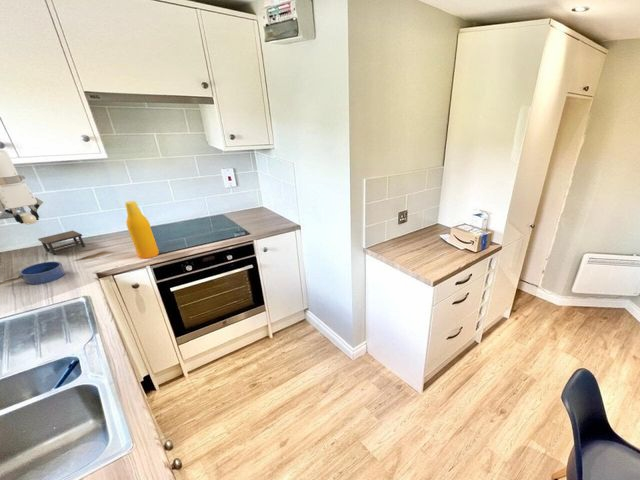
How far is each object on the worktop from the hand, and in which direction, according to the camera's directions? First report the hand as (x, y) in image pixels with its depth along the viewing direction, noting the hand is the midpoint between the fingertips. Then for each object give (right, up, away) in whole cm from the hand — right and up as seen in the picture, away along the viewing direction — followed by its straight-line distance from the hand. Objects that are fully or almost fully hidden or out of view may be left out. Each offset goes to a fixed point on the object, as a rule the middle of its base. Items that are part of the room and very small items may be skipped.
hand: (28, 220), depth 144 cm
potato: (0, -1, 0) cm, 1 cm away
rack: (-11, -13, +27) cm, 32 cm away
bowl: (+3, -26, +4) cm, 26 cm away
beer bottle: (+32, -15, +28) cm, 45 cm away
